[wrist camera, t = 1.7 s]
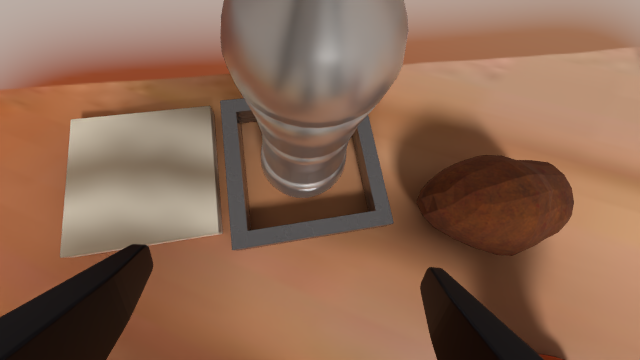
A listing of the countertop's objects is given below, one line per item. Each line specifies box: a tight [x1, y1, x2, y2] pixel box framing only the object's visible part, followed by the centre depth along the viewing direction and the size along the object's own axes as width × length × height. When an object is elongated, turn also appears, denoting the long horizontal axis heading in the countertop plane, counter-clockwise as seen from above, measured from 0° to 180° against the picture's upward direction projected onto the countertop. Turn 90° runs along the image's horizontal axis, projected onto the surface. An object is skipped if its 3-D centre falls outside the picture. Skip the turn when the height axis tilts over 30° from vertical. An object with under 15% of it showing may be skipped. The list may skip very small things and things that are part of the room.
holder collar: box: [220, 98, 394, 251], centre depth 23 cm, size 12×12×2 cm
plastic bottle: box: [221, 0, 408, 198], centre depth 14 cm, size 6×7×20 cm
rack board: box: [60, 106, 223, 257], centre depth 22 cm, size 11×11×1 cm
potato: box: [417, 155, 574, 256], centre depth 20 cm, size 8×12×8 cm, turn 101°
